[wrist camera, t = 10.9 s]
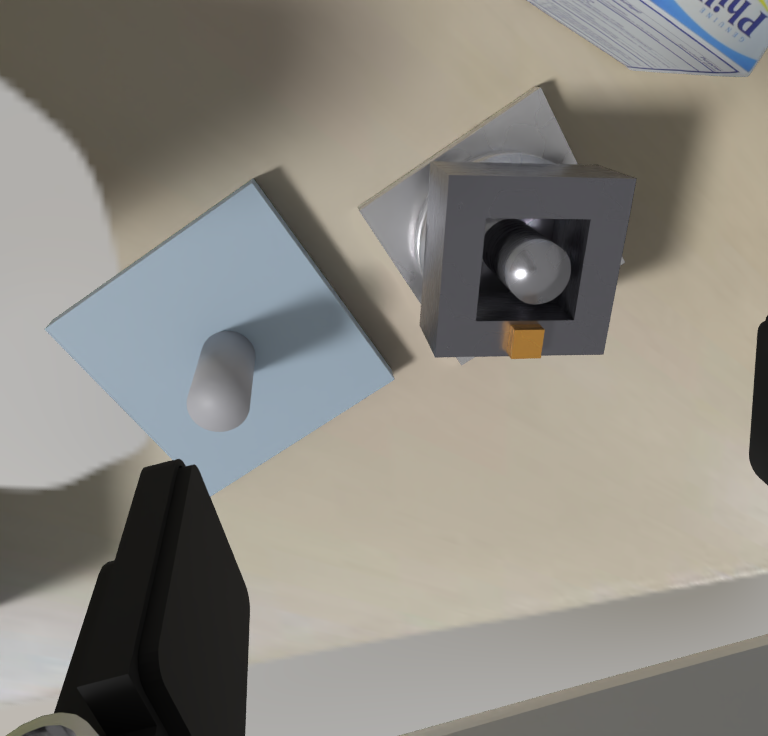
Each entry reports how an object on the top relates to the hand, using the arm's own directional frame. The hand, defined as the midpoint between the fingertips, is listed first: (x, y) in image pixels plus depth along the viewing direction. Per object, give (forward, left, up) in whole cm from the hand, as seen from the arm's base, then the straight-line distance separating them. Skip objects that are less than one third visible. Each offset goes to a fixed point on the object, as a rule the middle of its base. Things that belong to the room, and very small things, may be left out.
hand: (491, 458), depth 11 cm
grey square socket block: (+4, +4, -18) cm, 19 cm away
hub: (+4, +4, -21) cm, 22 cm away
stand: (+2, -9, -21) cm, 23 cm away
